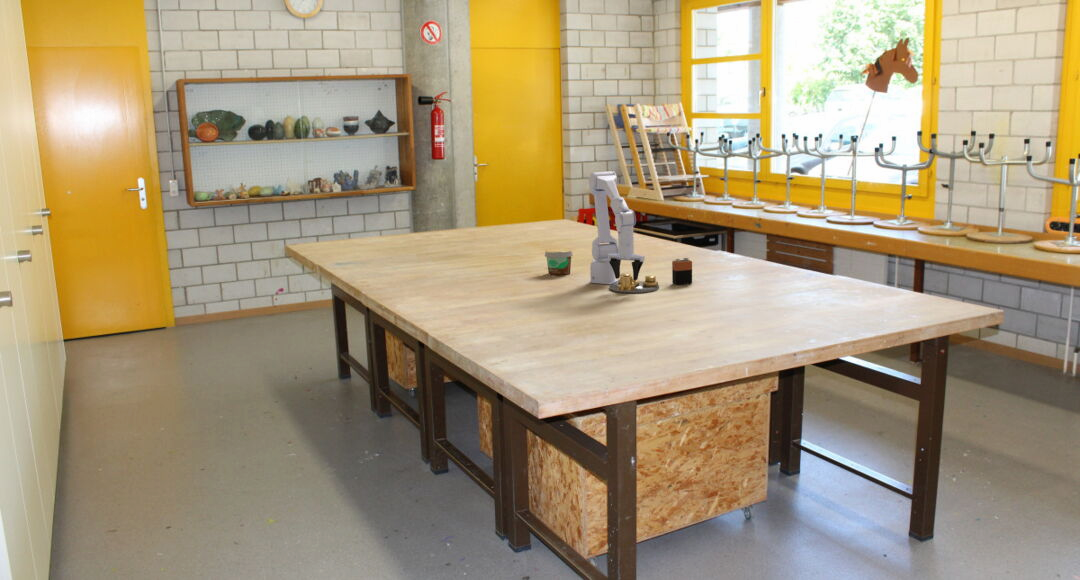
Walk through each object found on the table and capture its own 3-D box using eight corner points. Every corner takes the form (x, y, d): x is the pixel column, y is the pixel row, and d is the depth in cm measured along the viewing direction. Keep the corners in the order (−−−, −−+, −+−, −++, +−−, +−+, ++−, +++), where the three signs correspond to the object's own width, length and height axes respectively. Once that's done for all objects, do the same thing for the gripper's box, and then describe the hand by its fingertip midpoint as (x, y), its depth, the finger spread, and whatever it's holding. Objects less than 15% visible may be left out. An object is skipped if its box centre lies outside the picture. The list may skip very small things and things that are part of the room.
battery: (692, 284, 348) (692, 258, 347) (676, 285, 347) (676, 260, 345) (688, 282, 353) (687, 257, 351) (671, 283, 351) (671, 258, 349)
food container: (540, 275, 377) (540, 252, 375) (546, 273, 383) (545, 250, 381) (568, 276, 373) (567, 253, 371) (573, 274, 378) (572, 250, 376)
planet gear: (614, 290, 338) (614, 277, 337) (622, 286, 343) (622, 274, 342) (630, 291, 334) (630, 278, 333) (638, 288, 340) (638, 275, 339)
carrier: (600, 291, 342) (600, 279, 341) (624, 282, 357) (623, 271, 356) (645, 295, 331) (645, 283, 330) (667, 285, 347) (667, 274, 346)
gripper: (603, 244, 336) (604, 279, 339) (638, 246, 328) (638, 282, 331) (612, 241, 342) (613, 276, 345) (646, 243, 334) (647, 278, 337)
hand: (626, 279), depth 338 cm, fingers open, 7 cm apart
